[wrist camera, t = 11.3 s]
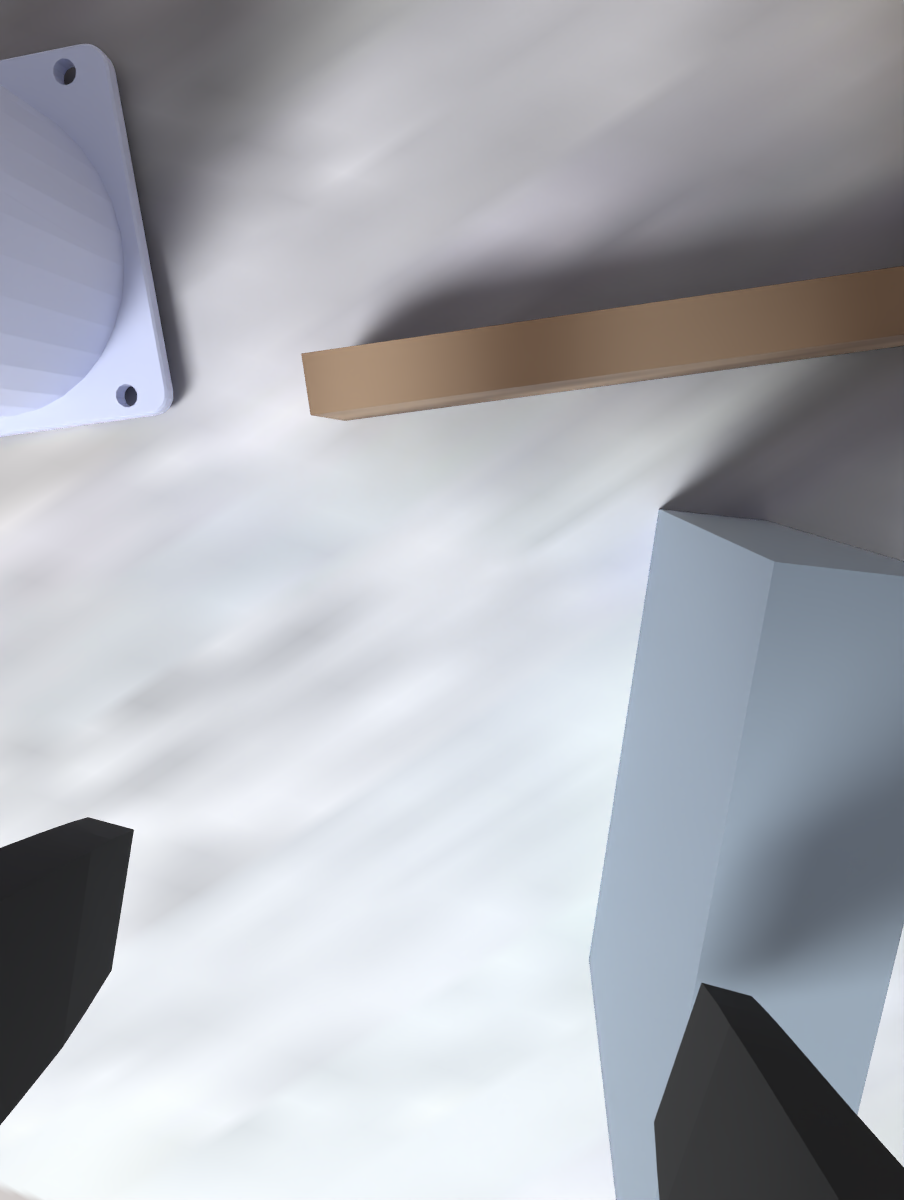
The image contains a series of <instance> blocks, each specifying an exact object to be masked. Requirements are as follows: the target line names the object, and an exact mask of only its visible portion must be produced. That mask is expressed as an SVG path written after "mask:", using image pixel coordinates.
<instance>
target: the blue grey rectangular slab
mask: <svg viewBox="0 0 904 1200" xmlns="http://www.w3.org/2000/svg"><path fill="white" fill-rule="evenodd" d="M903 924H904V561H900V560H897V559H894V558H890V557H887V556H884V555H880V554H877V553H874V552H870V551H867V550H863V549H860V548H857V547H853V546H850V545H847V544H843V543H840V542H837V541H833V540H830V539H827V538H823V537H820V536H816V535H813V534H810V533H806V532H803V531H800V530H796V529H793V528H790V527H786V526H783V525H779V524H776V523H773V522H769V521H764V520H755V519H746V518H737V517H727V516H718V515H709V514H700V513H691V512H682V511H673V510H664V509H659V512H658V518H657V525H656V531H655V538H654V544H653V551H652V557H651V564H650V570H649V576H648V583H647V589H646V596H645V602H644V609H643V615H642V621H641V628H640V634H639V641H638V647H637V654H636V660H635V667H634V673H633V679H632V686H631V692H630V699H629V705H628V712H627V718H626V724H625V731H624V737H623V744H622V750H621V757H620V763H619V770H618V776H617V782H616V789H615V795H614V802H613V808H612V815H611V821H610V828H609V834H608V840H607V847H606V853H605V860H604V866H603V873H602V879H601V885H600V892H599V898H598V905H597V911H596V918H595V924H594V931H593V937H592V943H591V950H590V956H589V964H590V972H591V981H592V990H593V999H594V1008H595V1017H596V1026H597V1035H598V1043H599V1052H600V1061H601V1070H602V1079H603V1088H604V1097H605V1106H606V1114H607V1123H608V1132H609V1141H610V1150H611V1159H612V1168H613V1177H614V1186H615V1194H616V1200H659V1189H658V1177H657V1163H656V1147H655V1132H654V1120H655V1117H656V1114H657V1111H658V1108H659V1105H660V1103H661V1100H662V1097H663V1094H664V1091H665V1088H666V1085H667V1082H668V1079H669V1076H670V1073H671V1070H672V1067H673V1064H674V1062H675V1059H676V1056H677V1053H678V1050H679V1047H680V1044H681V1041H682V1038H683V1035H684V1032H685V1029H686V1026H687V1023H688V1021H689V1018H690V1015H691V1012H692V1009H693V1006H694V1003H695V1000H696V997H697V994H698V991H699V988H700V985H701V983H705V984H709V985H713V986H716V987H720V988H724V989H727V990H731V991H735V992H739V993H742V994H746V995H750V996H752V997H753V998H754V999H755V1000H756V1001H757V1002H758V1003H759V1004H760V1005H761V1006H762V1007H763V1008H764V1009H765V1010H766V1011H767V1012H768V1013H769V1014H770V1016H771V1017H772V1018H773V1019H774V1020H775V1021H776V1022H777V1023H778V1024H779V1026H780V1027H781V1028H782V1029H783V1030H784V1031H785V1032H786V1034H787V1035H788V1036H789V1037H790V1038H791V1039H792V1040H793V1042H794V1043H795V1044H796V1045H797V1046H798V1047H799V1048H800V1050H801V1051H802V1052H803V1053H804V1054H805V1055H806V1057H807V1058H808V1059H809V1060H810V1061H811V1062H812V1064H813V1065H814V1066H815V1067H816V1068H817V1069H818V1071H819V1072H820V1073H821V1074H822V1075H823V1076H824V1077H825V1079H826V1080H827V1081H828V1082H829V1083H830V1084H831V1086H832V1087H833V1088H834V1089H835V1090H836V1091H837V1093H838V1094H839V1095H840V1096H841V1097H842V1098H843V1099H844V1101H845V1102H846V1103H847V1104H848V1105H849V1106H850V1108H851V1109H852V1110H853V1111H854V1112H855V1113H856V1114H858V1110H859V1105H860V1101H861V1097H862V1093H863V1089H864V1085H865V1081H866V1077H867V1073H868V1068H869V1064H870V1060H871V1056H872V1052H873V1048H874V1044H875V1040H876V1035H877V1031H878V1027H879V1023H880V1019H881V1015H882V1011H883V1007H884V1003H885V998H886V994H887V990H888V986H889V982H890V978H891V974H892V970H893V966H894V961H895V957H896V953H897V949H898V945H899V941H900V937H901V933H902V928H903Z"/></svg>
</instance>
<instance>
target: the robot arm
mask: <svg viewBox="0 0 904 1200" xmlns="http://www.w3.org/2000/svg"><path fill="white" fill-rule="evenodd" d="M72 67H75V69H76V77H75V78H74V80H73V82H72V83H70V84H68V85H65V84H64V75H65V73H66V71H67V70H68V69H70V68H72ZM130 386H132V387H133V388H135V390H136V392H137V401H136V403H135V404H134V405H133V406H131V407H130V406H129V405H128V404H127V403H126V401H125V391H126V390H127V388H128V387H130ZM172 401H173V387H172V382H171V376H170V371H169V365H168V360H167V354H166V349H165V343H164V338H163V332H162V327H161V321H160V316H159V310H158V305H157V299H156V294H155V288H154V283H153V277H152V272H151V266H150V260H149V255H148V249H147V244H146V238H145V233H144V227H143V222H142V216H141V211H140V205H139V200H138V194H137V189H136V183H135V178H134V172H133V167H132V161H131V156H130V150H129V145H128V139H127V134H126V128H125V122H124V117H123V111H122V106H121V100H120V95H119V89H118V84H117V78H116V73H115V69H114V66H113V64H112V61H111V60H110V59H109V58H108V57H107V56H106V54H104V53H103V52H102V51H101V50H100V49H99V48H98V47H96V46H94V45H92V44H78V45H73V46H68V47H63V48H58V49H53V50H48V51H43V52H38V53H34V54H29V55H24V56H19V57H14V58H9V59H4V60H0V437H4V436H11V435H18V434H25V433H33V432H40V431H47V430H54V429H61V428H68V427H76V426H83V425H90V424H97V423H104V422H112V421H119V420H126V419H133V418H140V417H147V416H155V415H159V414H162V413H165V412H166V411H167V410H168V409H169V408H170V406H171V404H172ZM133 832H134V830H133V829H130V828H126V827H122V826H118V825H115V824H111V823H107V822H104V821H100V820H96V819H92V818H89V817H87V818H84V819H81V820H77V821H74V822H71V823H68V824H65V825H62V826H59V827H56V828H53V829H50V830H47V831H45V832H42V833H39V834H36V835H34V836H31V837H28V838H26V839H23V840H20V841H18V842H15V843H12V844H10V845H7V846H4V847H2V848H0V1125H1V1124H2V1122H3V1121H4V1120H5V1119H6V1117H7V1116H8V1115H9V1114H10V1112H11V1111H12V1110H13V1109H14V1108H15V1106H16V1105H17V1104H18V1103H19V1101H20V1100H21V1099H22V1098H23V1096H24V1095H25V1094H26V1093H27V1091H28V1090H29V1089H30V1088H31V1086H32V1085H33V1084H34V1083H35V1081H36V1080H37V1079H38V1078H39V1076H40V1075H41V1074H42V1073H43V1071H44V1070H45V1069H46V1068H47V1066H48V1065H49V1064H50V1063H51V1061H52V1060H53V1059H54V1057H55V1056H56V1055H57V1054H58V1052H59V1051H60V1050H61V1049H62V1047H63V1046H64V1044H65V1043H66V1041H67V1040H68V1038H69V1037H70V1035H71V1034H72V1032H73V1031H74V1029H75V1027H76V1026H77V1024H78V1023H79V1021H80V1020H81V1018H82V1017H83V1015H84V1014H85V1012H86V1011H87V1009H88V1007H89V1006H90V1004H91V1003H92V1001H93V999H94V998H95V996H96V994H97V993H98V991H99V990H100V988H101V986H102V985H103V983H104V982H105V980H106V978H107V977H108V975H109V973H110V972H111V970H112V964H113V957H114V951H115V945H116V939H117V932H118V926H119V920H120V913H121V907H122V901H123V895H124V888H125V882H126V876H127V869H128V863H129V857H130V851H131V844H132V838H133ZM654 1132H655V1147H656V1163H657V1177H658V1189H659V1200H904V1167H903V1166H902V1165H901V1164H900V1163H899V1162H898V1161H897V1160H896V1158H895V1157H894V1156H893V1155H892V1154H891V1153H890V1152H889V1151H888V1149H887V1148H886V1147H885V1146H884V1145H883V1144H882V1143H881V1142H880V1141H879V1139H878V1138H877V1137H876V1136H875V1135H874V1134H873V1133H872V1131H871V1130H870V1129H869V1128H868V1127H867V1126H866V1125H865V1124H864V1122H863V1121H862V1120H861V1119H860V1118H859V1117H858V1116H857V1114H856V1113H855V1112H854V1111H853V1110H852V1109H851V1108H850V1106H849V1105H848V1104H847V1103H846V1102H845V1101H844V1099H843V1098H842V1097H841V1096H840V1095H839V1094H838V1093H837V1091H836V1090H835V1089H834V1088H833V1087H832V1086H831V1084H830V1083H829V1082H828V1081H827V1080H826V1079H825V1077H824V1076H823V1075H822V1074H821V1073H820V1072H819V1071H818V1069H817V1068H816V1067H815V1066H814V1065H813V1064H812V1062H811V1061H810V1060H809V1059H808V1058H807V1057H806V1055H805V1054H804V1053H803V1052H802V1051H801V1050H800V1048H799V1047H798V1046H797V1045H796V1044H795V1043H794V1042H793V1040H792V1039H791V1038H790V1037H789V1036H788V1035H787V1034H786V1032H785V1031H784V1030H783V1029H782V1028H781V1027H780V1026H779V1024H778V1023H777V1022H776V1021H775V1020H774V1019H773V1018H772V1017H771V1016H770V1014H769V1013H768V1012H767V1011H766V1010H765V1009H764V1008H763V1007H762V1006H761V1005H760V1004H759V1003H758V1002H757V1001H756V1000H755V999H754V998H753V997H752V996H750V995H746V994H742V993H739V992H735V991H731V990H727V989H724V988H720V987H716V986H713V985H709V984H705V983H701V985H700V988H699V991H698V994H697V997H696V1000H695V1003H694V1006H693V1009H692V1012H691V1015H690V1018H689V1021H688V1023H687V1026H686V1029H685V1032H684V1035H683V1038H682V1041H681V1044H680V1047H679V1050H678V1053H677V1056H676V1059H675V1062H674V1064H673V1067H672V1070H671V1073H670V1076H669V1079H668V1082H667V1085H666V1088H665V1091H664V1094H663V1097H662V1100H661V1103H660V1105H659V1108H658V1111H657V1114H656V1117H655V1120H654Z"/></svg>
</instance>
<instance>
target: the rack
mask: <svg viewBox="0 0 904 1200" xmlns="http://www.w3.org/2000/svg"><path fill="white" fill-rule="evenodd" d="M898 346H904V266H899V267H892V268H886V269H879V270H872V271H865V272H858V273H851V274H844V275H837V276H831V277H824V278H817V279H810V280H803V281H796V282H789V283H783V284H776V285H769V286H762V287H755V288H748V289H741V290H735V291H728V292H721V293H714V294H707V295H700V296H693V297H687V298H680V299H673V300H666V301H659V302H652V303H645V304H638V305H632V306H625V307H618V308H611V309H604V310H597V311H590V312H584V313H577V314H570V315H563V316H556V317H549V318H542V319H536V320H529V321H522V322H515V323H508V324H501V325H494V326H488V327H481V328H474V329H467V330H460V331H453V332H446V333H440V334H433V335H426V336H419V337H412V338H405V339H398V340H391V341H385V342H378V343H371V344H364V345H357V346H350V347H343V348H337V349H330V350H323V351H316V352H309V353H302V361H303V368H304V374H305V381H306V387H307V394H308V401H309V407H310V414H311V415H313V416H320V417H326V418H332V419H338V420H344V421H347V420H354V419H362V418H369V417H376V416H384V415H391V414H399V413H406V412H414V411H421V410H429V409H436V408H443V407H451V406H458V405H466V404H473V403H481V402H488V401H496V400H503V399H511V398H518V397H525V396H533V395H540V394H548V393H555V392H563V391H570V390H578V389H585V388H592V387H600V386H607V385H615V384H622V383H630V382H637V381H645V380H652V379H659V378H667V377H674V376H682V375H689V374H697V373H704V372H712V371H719V370H727V369H734V368H741V367H749V366H756V365H764V364H771V363H779V362H786V361H794V360H801V359H808V358H816V357H823V356H831V355H838V354H846V353H853V352H861V351H868V350H876V349H883V348H890V347H898Z"/></svg>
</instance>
